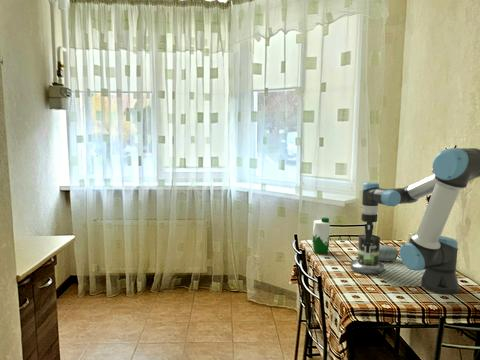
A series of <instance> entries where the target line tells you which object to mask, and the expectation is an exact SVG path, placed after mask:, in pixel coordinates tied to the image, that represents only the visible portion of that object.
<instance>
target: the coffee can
mask: <svg viewBox="0 0 480 360" xmlns="http://www.w3.org/2000/svg"><path fill="white" fill-rule="evenodd" d="M365 240H366V234H365V233H364V234H359V235H358V244H357V245H358V246H357V249H358V250H357V260H358V262H357V263H358V264H359V265H361V266H364V267H378V266H379V263H380V261H379V248H380V245H381V237H380V236H378V235H374V234H371V252H370V259H364V254H365V246H364V244H365ZM369 244H370V243H369Z"/></svg>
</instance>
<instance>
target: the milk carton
mask: <svg viewBox="0 0 480 360" xmlns="http://www.w3.org/2000/svg"><path fill="white" fill-rule="evenodd" d="M330 224H331V223H330V218H329V217H321V219H319V220H316V219H315V220H313V226H312V227H313V228H312V229H313V230H312V247H313V251H314V254H316V255H319V254H320V255H328V254H329V247H330V228H331V227H330V226H331V225H330Z"/></svg>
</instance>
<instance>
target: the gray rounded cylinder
mask: <svg viewBox="0 0 480 360" xmlns="http://www.w3.org/2000/svg"><path fill="white" fill-rule="evenodd" d="M398 256H399V251H398V249H397V247H395V246H392V245H385V244H380V248H379V262H394V261H396V260H397V259H398Z"/></svg>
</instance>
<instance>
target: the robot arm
mask: <svg viewBox="0 0 480 360" xmlns="http://www.w3.org/2000/svg"><path fill="white" fill-rule="evenodd" d="M432 169H433V170H432V171H433V173H432V174H430V175H428V176H426V177H424V178H422V179H419V180H417V181H415V182H413V183H411V184H409V185H406V186H404V187H397V188H396V187H395V188H383V187H382V188H381V187H380V184H379V183H378V182H375V181H374V182H373V181H369V182H368V181H367V182H364V183H363V185H362V197H361V198H362V201H361V202H362V203H361V206H360V208H361V219H360V220H361V221H362V222H365V224H364V234H366V240H365V244H364V246H365V254H364V259H370V252H371V235H373V230H374V224H373V223H376V222H378V213H379V204H380V205H383V206H386V207H396V206H398V205H402V204H412V203H416V202H417V201H419V199H422V198H423V197H427V196H428V195H430V198H429V201H428V203H427V205H426V207H425V211H424V213H423V216H422V218H421V221H420V224H419V225H418V229H417V231H416V232H413V233H412V234H411V235H410V238H409V241H408V242H405V243H403V244H402V245H401V246H400V248H399V258H400V259H401V262H402V263H403V266H405V267H406V268H407V269H409V270H410V271H423V270H424V272H423V274H422V277H421V279H420V286H421V287H422V288H423V289H425V290H427V291H429V292H432V293H437V294H442V295H454V294H455V295H456V294H458V293H459V291H460V284H459V281H458V277H457V263H458V261H457V260H458V250H459V247H458V246H459V245H458V244H459V242H458V241H457V239H455V238H453V237H449V236H444V235H442V234H443V231H444V228H445V226H446V224H447V221H448V219H449V217H450V215H451V211H452V209H453V207H454V205H455V203H456V200H457V198H458V195H459V193H460V191H461V190H464V189H466V188H467V186H468V183H469V181H472V180H474V179H477V178H480V149H479V148H472V147H470V148H467V147H465V148H461V147H460V148H459V147H451V148H446V149H443V150H442V151H440V152H438V153H437V154H436V155H435V157H434V158H433V161H432ZM369 243H370V244H369Z"/></svg>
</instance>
